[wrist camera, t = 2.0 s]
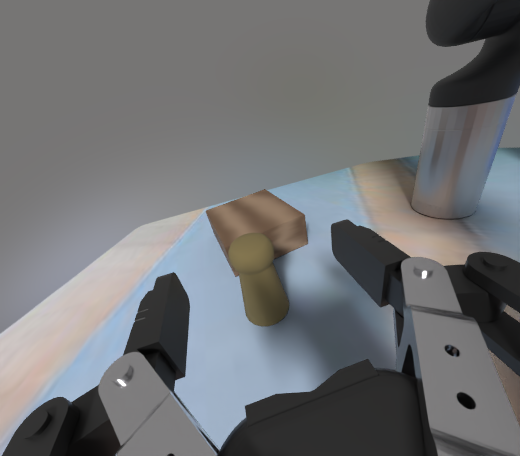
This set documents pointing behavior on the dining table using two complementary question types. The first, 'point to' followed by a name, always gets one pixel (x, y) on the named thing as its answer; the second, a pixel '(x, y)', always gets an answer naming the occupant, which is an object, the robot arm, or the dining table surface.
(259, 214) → the walnut block
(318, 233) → the dining table surface
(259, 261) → the cork
